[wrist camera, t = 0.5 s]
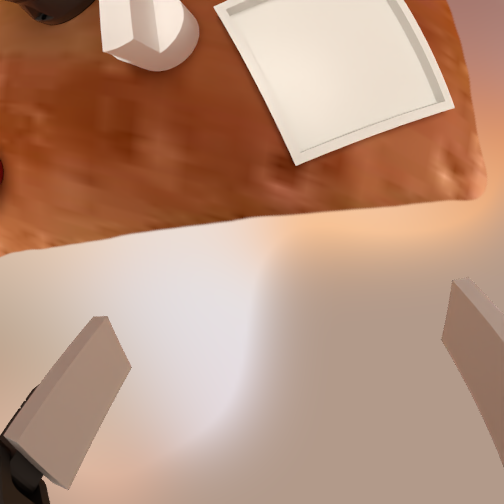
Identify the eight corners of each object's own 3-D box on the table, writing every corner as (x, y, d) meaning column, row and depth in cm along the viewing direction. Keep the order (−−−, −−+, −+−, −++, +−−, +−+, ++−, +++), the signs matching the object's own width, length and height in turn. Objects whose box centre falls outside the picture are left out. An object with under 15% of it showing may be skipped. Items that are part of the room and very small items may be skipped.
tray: (218, 15, 27) (213, 6, 24) (369, -31, 22) (375, -41, 19) (294, 163, 33) (295, 165, 30) (442, 108, 28) (454, 107, 25)
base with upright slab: (126, 21, 28) (73, -7, 16) (194, -2, 26) (158, -47, 15) (134, 80, 31) (76, 67, 20) (204, 59, 29) (167, 29, 18)
